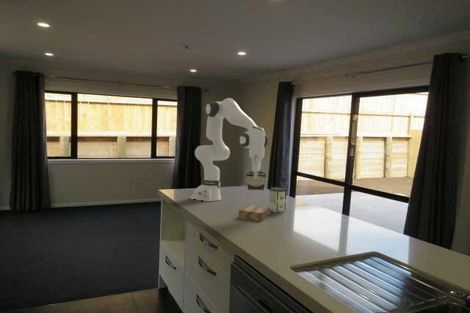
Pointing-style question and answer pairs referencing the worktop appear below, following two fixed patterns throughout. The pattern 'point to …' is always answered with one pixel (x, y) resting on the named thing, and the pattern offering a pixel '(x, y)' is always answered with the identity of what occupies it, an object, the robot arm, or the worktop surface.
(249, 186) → the food container
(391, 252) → the worktop surface
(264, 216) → the walnut block
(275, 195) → the coffee can
